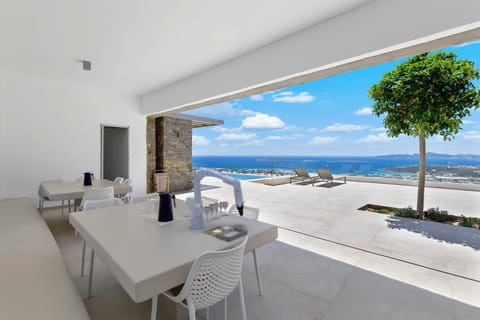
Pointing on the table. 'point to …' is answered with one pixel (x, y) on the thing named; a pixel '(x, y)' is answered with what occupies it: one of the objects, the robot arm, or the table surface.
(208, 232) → the walnut board
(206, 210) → the goblet set
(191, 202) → the heart sculpture
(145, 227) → the table surface
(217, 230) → the cream tile
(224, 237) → the tray
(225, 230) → the sage tile
